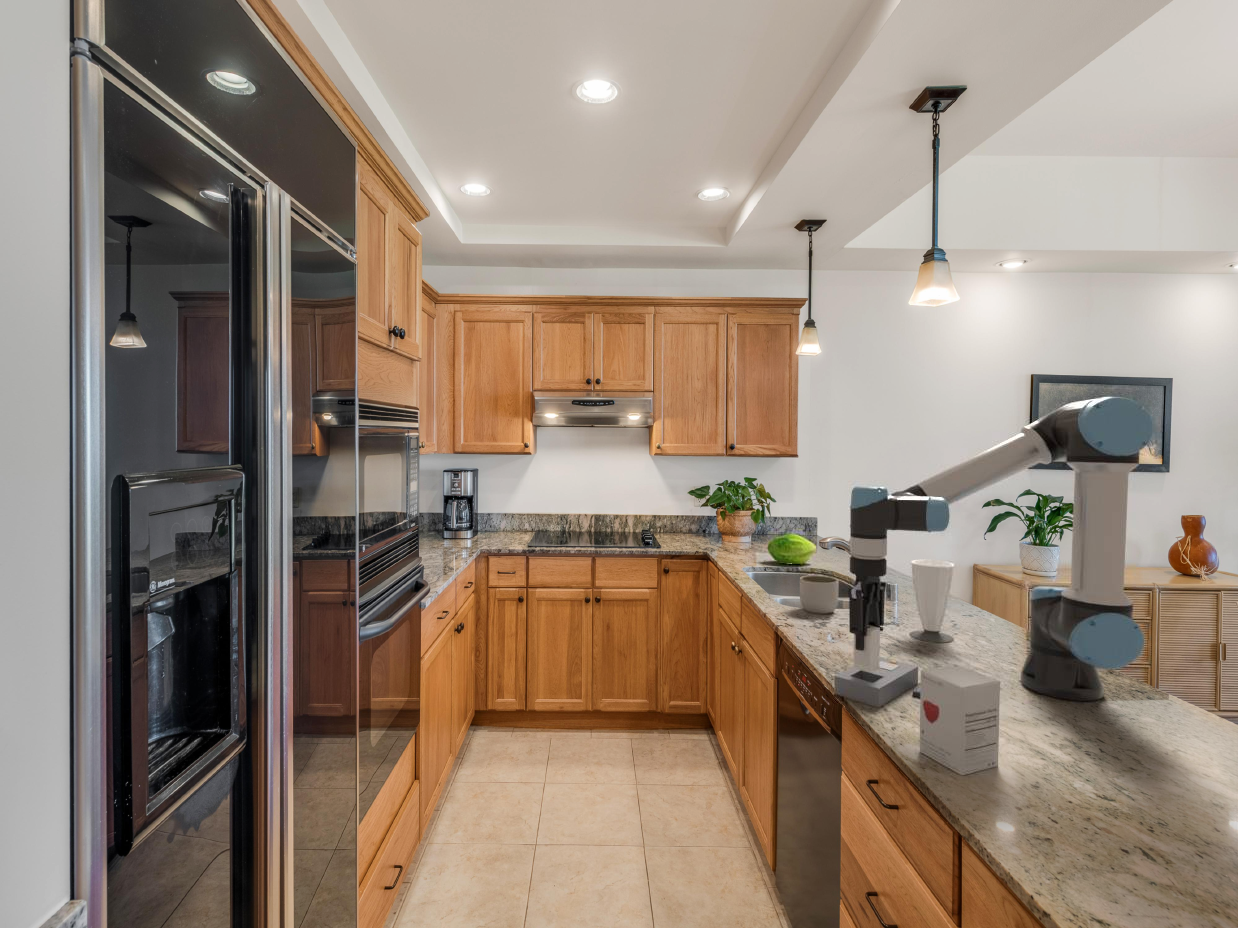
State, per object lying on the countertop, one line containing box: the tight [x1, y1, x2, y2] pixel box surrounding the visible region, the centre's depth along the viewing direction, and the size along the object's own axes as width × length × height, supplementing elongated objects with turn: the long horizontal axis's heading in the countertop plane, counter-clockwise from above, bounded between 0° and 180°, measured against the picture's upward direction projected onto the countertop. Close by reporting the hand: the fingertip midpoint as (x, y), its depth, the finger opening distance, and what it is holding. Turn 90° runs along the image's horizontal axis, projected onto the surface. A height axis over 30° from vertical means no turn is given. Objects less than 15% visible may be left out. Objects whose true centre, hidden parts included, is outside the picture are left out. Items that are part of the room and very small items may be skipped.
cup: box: [909, 559, 955, 644], centre depth 177 cm, size 12×12×22 cm
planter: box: [799, 574, 839, 615], centre depth 206 cm, size 12×12×11 cm
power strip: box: [833, 656, 919, 708], centre depth 138 cm, size 10×20×4 cm, turn 132°
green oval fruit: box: [766, 533, 817, 565], centre depth 293 cm, size 15×23×16 cm
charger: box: [852, 625, 881, 673], centre depth 135 cm, size 4×4×9 cm
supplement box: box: [919, 663, 1001, 776], centre depth 106 cm, size 9×9×15 cm
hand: (866, 661), depth 135 cm, fingers closed on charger, 4 cm apart
